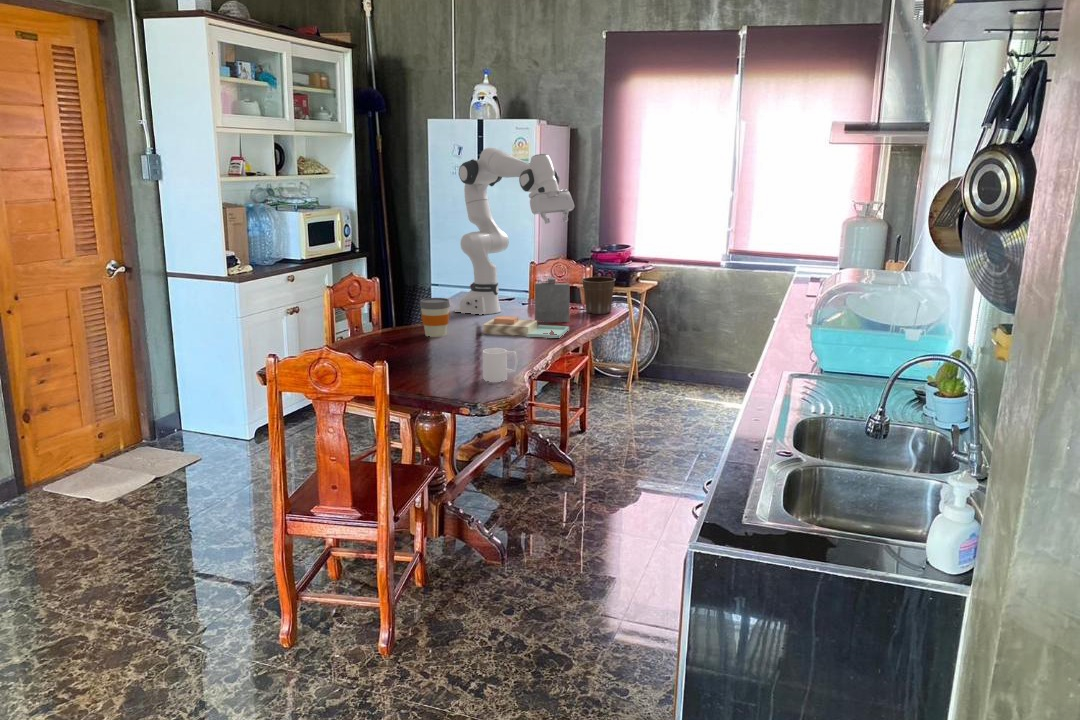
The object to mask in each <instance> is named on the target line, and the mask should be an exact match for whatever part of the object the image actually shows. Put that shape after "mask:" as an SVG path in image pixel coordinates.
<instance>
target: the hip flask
mask: <svg viewBox="0 0 1080 720" xmlns="http://www.w3.org/2000/svg"><path fill="white" fill-rule="evenodd" d="M556 281H557V278H554V277H551V278H550V277H549V278H547V282H545V281H544V282H535V283H534V320H537V321H542V322H541V323H554V322H567V323H570V294H571V293H570V284H571V283H569V282H568V283H565V282H564V283H556ZM543 321H544V322H543Z"/></svg>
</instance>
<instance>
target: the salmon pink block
mask: <svg viewBox="0 0 1080 720" xmlns="http://www.w3.org/2000/svg"><path fill="white" fill-rule="evenodd" d="M518 320H519V317H518V316H504V315H498V316H496V317H494V323H500V324H515V323H517V322H518Z"/></svg>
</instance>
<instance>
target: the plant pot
mask: <svg viewBox="0 0 1080 720" xmlns="http://www.w3.org/2000/svg"><path fill="white" fill-rule="evenodd" d="M615 281H616V278H614V277H611V276H588V277H584V278H582V279H581V282H582V288H583V292H584V293H583V294H584V302H585V312H586V313H587V314H593V315H605V314H609V313H611V312H612V303H613V294H614V288H615Z"/></svg>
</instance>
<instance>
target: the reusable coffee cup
mask: <svg viewBox="0 0 1080 720" xmlns="http://www.w3.org/2000/svg"><path fill="white" fill-rule="evenodd" d="M419 303H420V305H419V308H420V310H421V313H420V315H421V317H420V318H421V322H422V325H423V327H424V334H425V337H428V336H430V337H429V338H442V337H445V336H447V334H448V333H447V332H448V324H449V322H450V307H451V306H450V299H449V298H446V297H427V298H422V299H420V302H419Z"/></svg>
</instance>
